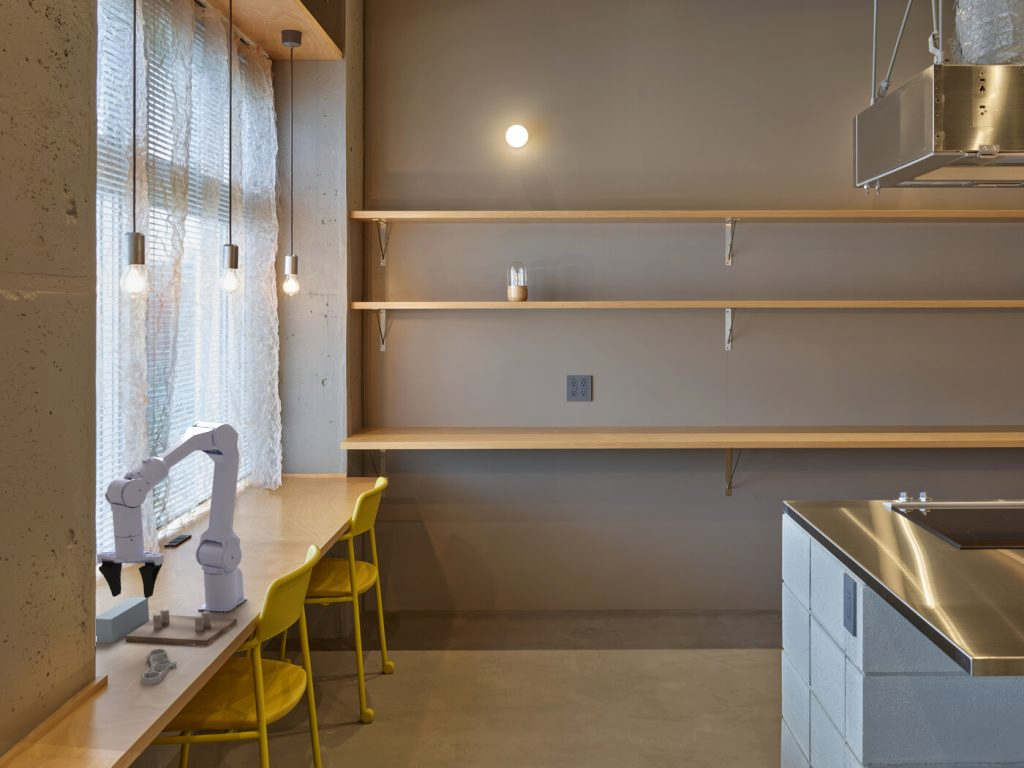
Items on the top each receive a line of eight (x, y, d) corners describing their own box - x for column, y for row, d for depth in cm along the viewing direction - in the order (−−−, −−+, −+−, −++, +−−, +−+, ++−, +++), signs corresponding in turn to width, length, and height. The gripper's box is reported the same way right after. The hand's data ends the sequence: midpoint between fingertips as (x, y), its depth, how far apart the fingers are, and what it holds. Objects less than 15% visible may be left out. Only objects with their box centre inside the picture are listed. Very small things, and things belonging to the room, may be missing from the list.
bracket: (120, 678, 174) (152, 646, 189) (121, 688, 174) (153, 655, 189) (160, 678, 174) (188, 646, 188) (160, 688, 174) (189, 655, 189)
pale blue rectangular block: (132, 620, 210) (131, 596, 209) (149, 620, 209) (147, 597, 209) (94, 643, 196) (93, 618, 196) (112, 644, 196) (111, 619, 195)
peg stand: (160, 619, 209) (159, 601, 209) (236, 623, 205) (235, 605, 205) (126, 641, 196) (124, 622, 196) (206, 645, 193) (205, 626, 192)
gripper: (86, 538, 193) (90, 600, 194) (148, 540, 190) (153, 603, 191) (106, 529, 200) (110, 589, 201) (167, 531, 197) (171, 592, 198)
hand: (132, 595), depth 197 cm, fingers open, 7 cm apart
